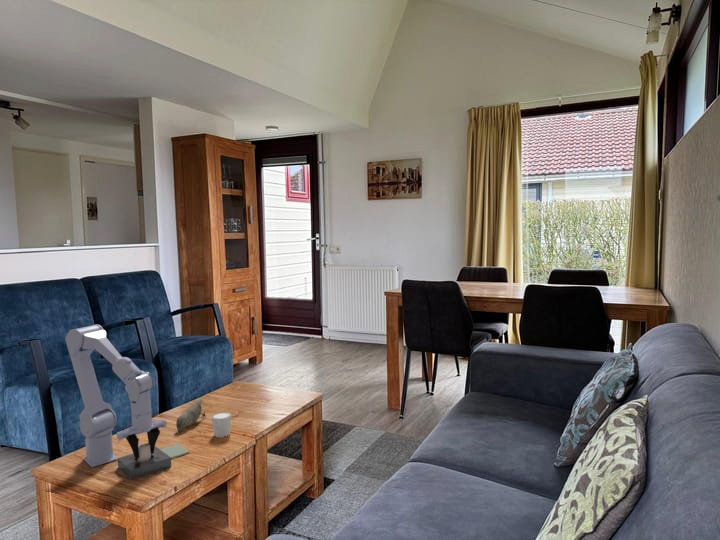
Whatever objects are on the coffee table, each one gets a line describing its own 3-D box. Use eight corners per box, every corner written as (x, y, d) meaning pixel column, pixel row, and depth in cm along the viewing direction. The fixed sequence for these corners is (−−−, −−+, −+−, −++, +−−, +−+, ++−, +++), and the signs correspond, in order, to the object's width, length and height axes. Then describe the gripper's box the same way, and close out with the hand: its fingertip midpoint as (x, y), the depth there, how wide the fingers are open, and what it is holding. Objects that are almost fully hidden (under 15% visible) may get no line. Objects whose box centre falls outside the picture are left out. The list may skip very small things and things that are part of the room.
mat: (157, 451, 169) (157, 450, 169) (178, 445, 174) (177, 443, 174) (168, 459, 163) (168, 458, 163) (189, 452, 168) (189, 451, 167)
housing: (118, 467, 158) (117, 458, 158) (156, 455, 166) (155, 446, 166) (131, 480, 149) (131, 470, 149) (171, 466, 158) (170, 457, 158)
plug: (135, 467, 158) (134, 444, 158) (148, 463, 161) (147, 440, 160) (140, 471, 155) (139, 448, 155) (153, 467, 158) (152, 444, 157)
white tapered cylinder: (211, 432, 185) (210, 413, 184) (230, 429, 187) (230, 411, 187) (213, 439, 178) (212, 420, 178) (233, 436, 181) (232, 417, 180)
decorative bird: (172, 432, 186) (171, 413, 186) (195, 417, 202) (194, 399, 201) (185, 433, 185) (184, 413, 185) (208, 418, 201) (207, 399, 200)
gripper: (121, 422, 149) (124, 466, 150) (169, 409, 159) (171, 451, 160) (113, 416, 154) (116, 459, 155) (160, 404, 164) (162, 445, 165)
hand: (143, 455), depth 158 cm, fingers closed on plug, 4 cm apart
